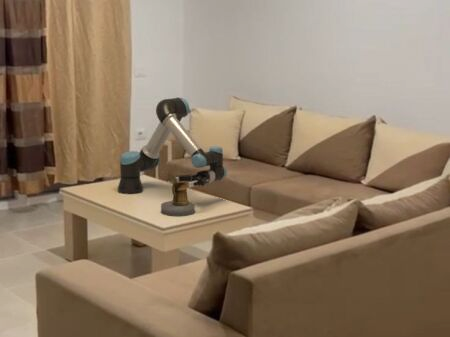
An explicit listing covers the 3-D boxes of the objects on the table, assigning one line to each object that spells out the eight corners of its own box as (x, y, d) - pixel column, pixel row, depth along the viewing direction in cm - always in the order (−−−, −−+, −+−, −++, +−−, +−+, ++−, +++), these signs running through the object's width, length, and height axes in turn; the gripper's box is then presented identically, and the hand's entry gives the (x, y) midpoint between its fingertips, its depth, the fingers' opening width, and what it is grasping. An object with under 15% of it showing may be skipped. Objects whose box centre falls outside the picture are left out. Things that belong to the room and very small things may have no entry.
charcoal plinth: (160, 207, 411) (160, 200, 411) (193, 207, 413) (193, 200, 413) (161, 216, 394) (161, 209, 393) (195, 216, 396) (195, 208, 395)
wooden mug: (162, 205, 401) (162, 172, 397) (179, 200, 411) (179, 168, 407) (174, 208, 395) (174, 175, 392) (191, 203, 405) (192, 171, 402)
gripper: (222, 186, 410) (197, 193, 394) (188, 180, 426) (162, 186, 410) (222, 173, 409) (197, 179, 393) (188, 167, 424) (162, 173, 408)
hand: (179, 183), depth 401 cm, fingers open, 13 cm apart
